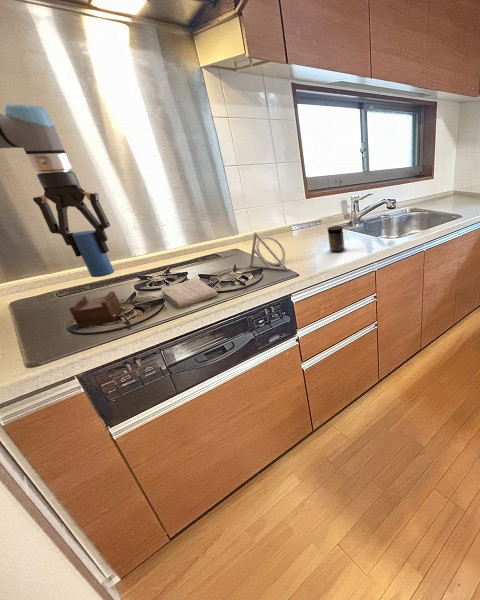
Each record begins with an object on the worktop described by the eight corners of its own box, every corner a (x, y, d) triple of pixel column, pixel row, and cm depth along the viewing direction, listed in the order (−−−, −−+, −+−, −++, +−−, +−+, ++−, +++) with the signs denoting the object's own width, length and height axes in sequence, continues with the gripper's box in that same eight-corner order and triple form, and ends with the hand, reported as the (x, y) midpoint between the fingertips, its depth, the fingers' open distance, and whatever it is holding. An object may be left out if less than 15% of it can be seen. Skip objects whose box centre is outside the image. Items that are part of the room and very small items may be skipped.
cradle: (89, 315, 96) (80, 296, 93) (122, 309, 99) (114, 291, 96) (78, 327, 89) (68, 307, 87) (114, 321, 92) (105, 301, 90)
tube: (92, 233, 94) (99, 229, 98) (67, 236, 92) (75, 231, 96) (111, 275, 99) (116, 269, 104) (88, 278, 97) (95, 272, 102)
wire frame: (283, 267, 144) (304, 254, 135) (265, 283, 134) (287, 270, 126) (253, 234, 137) (275, 218, 128) (233, 248, 127) (254, 232, 119)
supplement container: (342, 253, 144) (340, 230, 140) (328, 252, 145) (325, 229, 141) (346, 248, 150) (344, 226, 146) (332, 248, 151) (330, 226, 147)
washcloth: (197, 283, 116) (195, 275, 115) (220, 296, 106) (217, 288, 104) (159, 294, 108) (156, 286, 107) (179, 310, 98) (176, 301, 96)
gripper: (0, 174, 81) (47, 262, 91) (92, 170, 88) (127, 252, 98) (16, 172, 87) (59, 254, 97) (102, 168, 94) (133, 246, 104)
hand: (93, 253), depth 98 cm, fingers closed on tube, 6 cm apart
